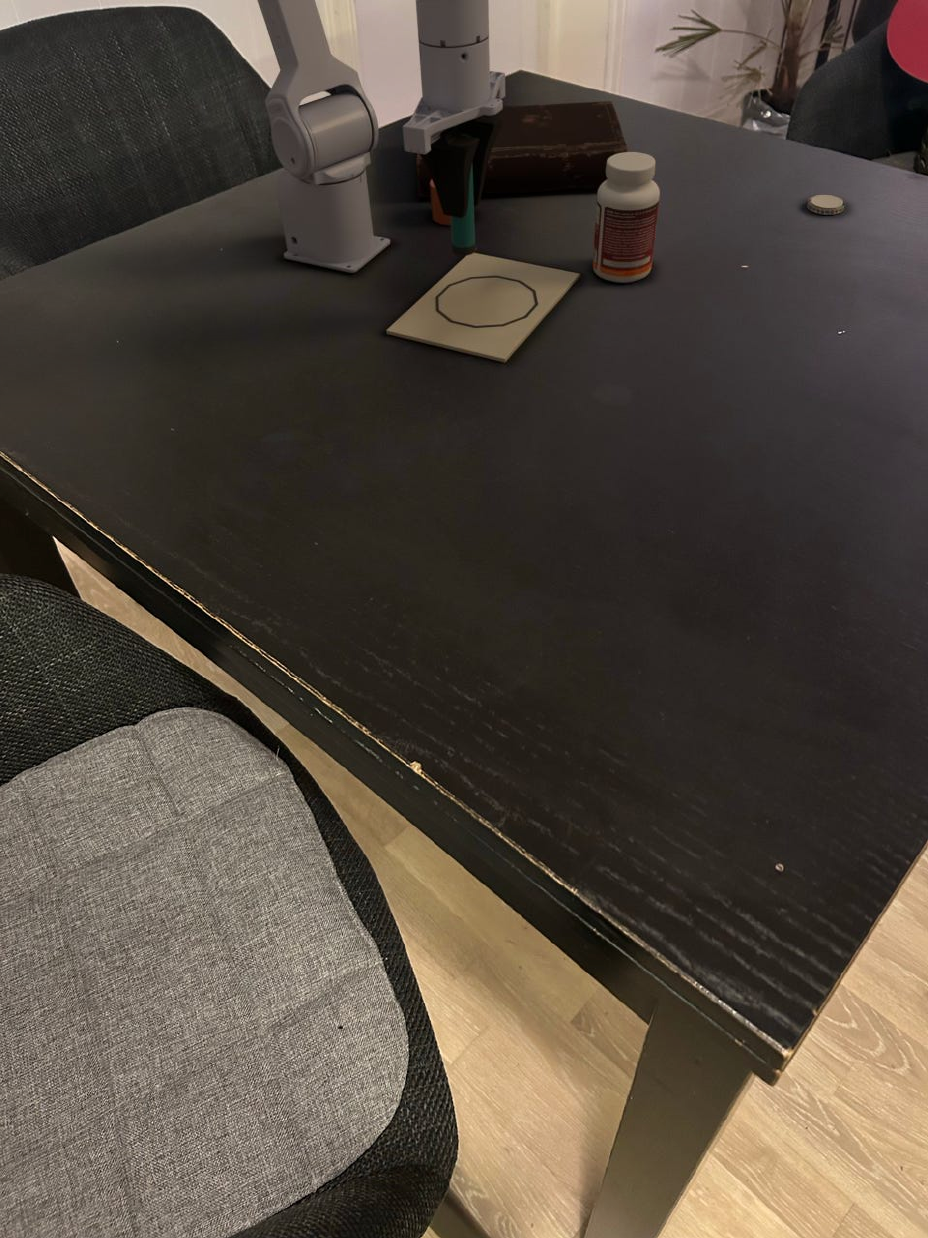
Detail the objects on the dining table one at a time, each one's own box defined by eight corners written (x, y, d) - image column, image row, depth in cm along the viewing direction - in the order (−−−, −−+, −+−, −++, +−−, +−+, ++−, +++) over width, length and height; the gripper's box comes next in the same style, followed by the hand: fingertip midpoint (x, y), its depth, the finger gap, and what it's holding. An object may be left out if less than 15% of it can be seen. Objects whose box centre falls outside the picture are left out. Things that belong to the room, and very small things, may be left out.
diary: (625, 192, 106) (629, 148, 102) (419, 202, 106) (415, 158, 103) (607, 135, 118) (610, 93, 115) (423, 144, 119) (420, 103, 115)
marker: (448, 253, 83) (441, 140, 76) (459, 243, 84) (453, 131, 77) (468, 257, 82) (463, 143, 75) (479, 247, 84) (475, 134, 76)
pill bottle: (663, 272, 92) (677, 162, 84) (618, 290, 90) (628, 178, 82) (624, 251, 96) (634, 143, 87) (580, 268, 94) (586, 159, 85)
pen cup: (425, 221, 103) (422, 186, 100) (444, 205, 106) (442, 170, 103) (461, 228, 101) (459, 192, 98) (480, 211, 104) (479, 176, 101)
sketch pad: (386, 333, 86) (386, 329, 86) (470, 255, 97) (470, 251, 96) (505, 362, 82) (505, 358, 81) (579, 277, 92) (580, 272, 92)
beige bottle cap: (802, 209, 100) (803, 204, 100) (813, 196, 102) (815, 191, 102) (837, 217, 99) (838, 211, 98) (848, 203, 101) (849, 197, 100)
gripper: (454, 69, 65) (462, 250, 75) (537, 16, 73) (534, 185, 83) (373, 59, 67) (392, 235, 77) (462, 9, 76) (469, 174, 86)
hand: (461, 208), depth 80 cm, fingers closed on marker, 2 cm apart
